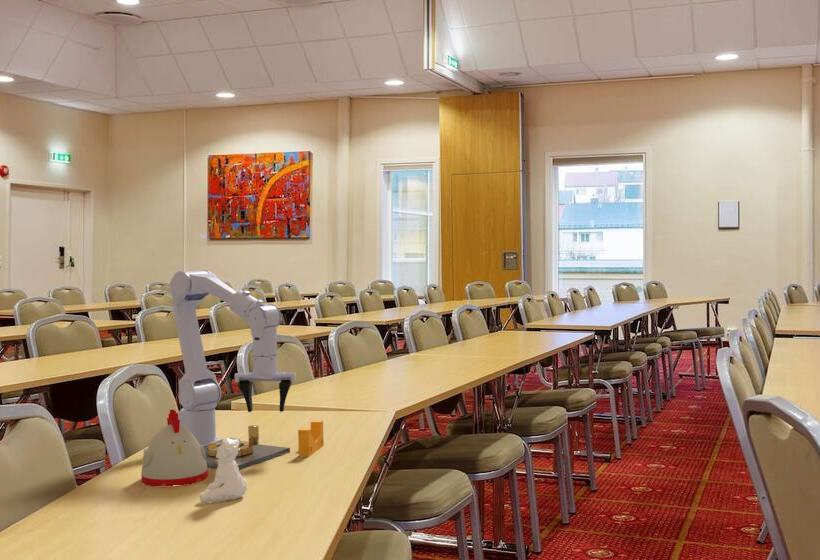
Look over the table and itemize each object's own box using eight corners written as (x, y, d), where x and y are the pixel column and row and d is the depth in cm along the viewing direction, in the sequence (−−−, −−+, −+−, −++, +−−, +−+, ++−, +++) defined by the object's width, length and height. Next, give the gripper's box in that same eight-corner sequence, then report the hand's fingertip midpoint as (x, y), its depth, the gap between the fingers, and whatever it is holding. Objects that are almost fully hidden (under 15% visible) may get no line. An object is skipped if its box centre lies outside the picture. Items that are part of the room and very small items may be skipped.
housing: (169, 461, 214) (168, 444, 214) (225, 444, 231) (225, 428, 231) (236, 470, 204) (236, 452, 204) (289, 451, 222) (289, 435, 222)
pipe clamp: (306, 445, 229) (306, 420, 229) (323, 446, 228) (323, 420, 228) (291, 456, 218) (291, 429, 217) (309, 457, 217) (308, 430, 216)
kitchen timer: (148, 490, 189) (146, 418, 189) (135, 476, 201) (133, 408, 201) (215, 481, 196) (213, 411, 195) (198, 468, 208) (196, 402, 207)
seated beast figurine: (210, 491, 188) (208, 433, 187) (251, 490, 187) (250, 432, 187) (198, 504, 178) (196, 443, 178) (241, 504, 178) (240, 442, 177)
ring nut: (198, 454, 216) (198, 429, 216) (227, 445, 225) (227, 422, 225) (234, 458, 211) (233, 433, 210) (262, 449, 220) (261, 425, 220)
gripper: (231, 357, 217) (232, 414, 218) (292, 357, 217) (293, 414, 217) (237, 353, 224) (238, 409, 225) (296, 353, 224) (297, 408, 224)
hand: (266, 411), depth 221 cm, fingers open, 7 cm apart
